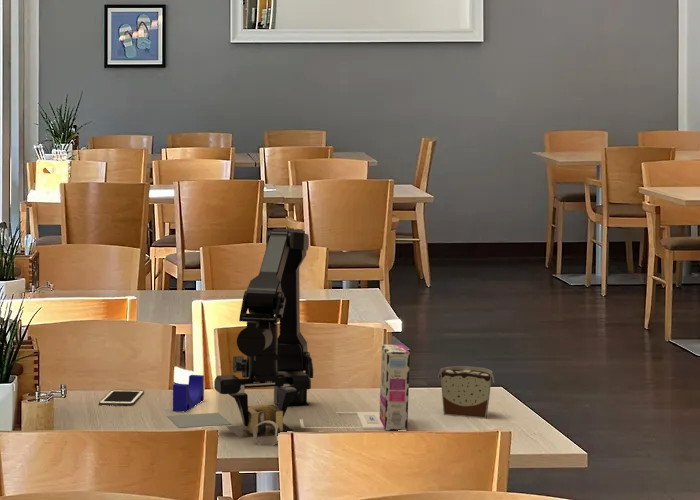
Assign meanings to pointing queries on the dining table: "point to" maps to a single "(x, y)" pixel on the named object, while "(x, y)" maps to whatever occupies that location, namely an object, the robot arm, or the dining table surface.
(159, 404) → the dining table surface
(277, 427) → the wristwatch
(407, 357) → the candy bar box
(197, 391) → the blue arch block
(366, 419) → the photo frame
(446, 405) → the food container
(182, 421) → the coaster
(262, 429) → the stand
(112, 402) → the cell phone
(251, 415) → the tan wooden block
